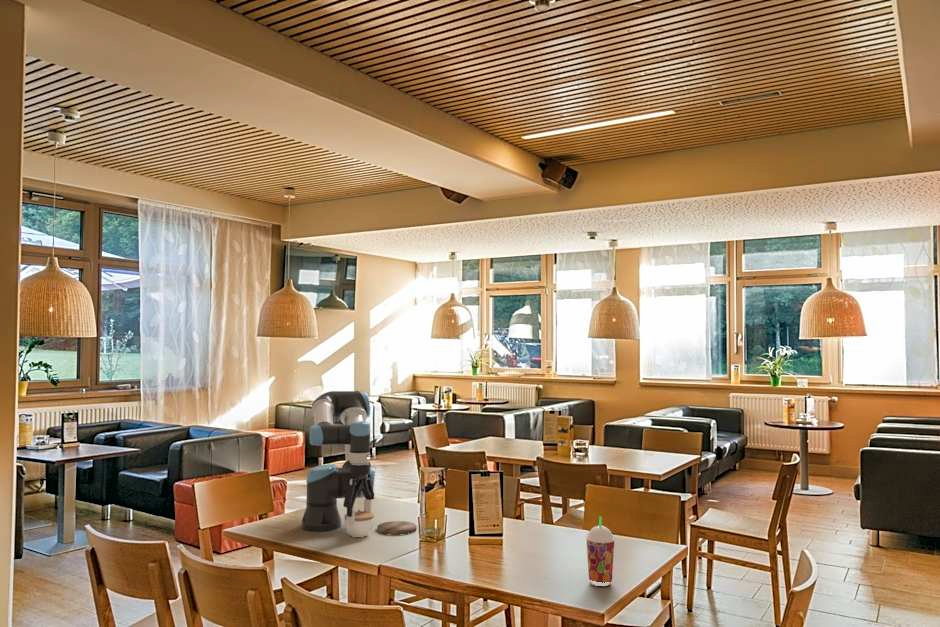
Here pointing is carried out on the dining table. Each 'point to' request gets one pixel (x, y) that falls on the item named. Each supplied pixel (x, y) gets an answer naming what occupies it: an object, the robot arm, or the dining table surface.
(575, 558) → the dining table surface
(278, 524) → the dining table surface
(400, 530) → the stand
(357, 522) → the lidded jar
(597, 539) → the smoothie
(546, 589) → the dining table surface
